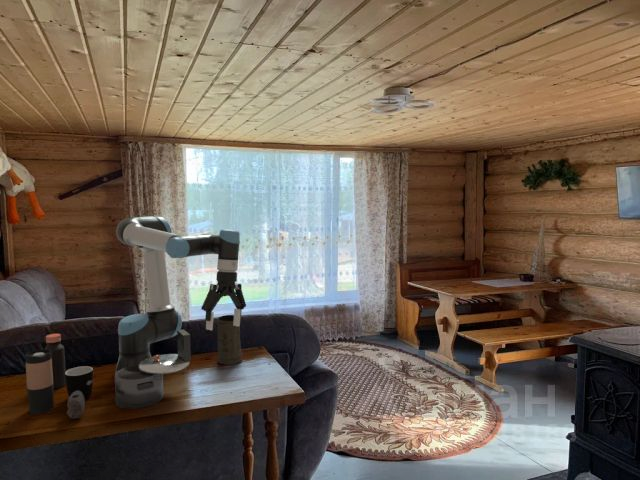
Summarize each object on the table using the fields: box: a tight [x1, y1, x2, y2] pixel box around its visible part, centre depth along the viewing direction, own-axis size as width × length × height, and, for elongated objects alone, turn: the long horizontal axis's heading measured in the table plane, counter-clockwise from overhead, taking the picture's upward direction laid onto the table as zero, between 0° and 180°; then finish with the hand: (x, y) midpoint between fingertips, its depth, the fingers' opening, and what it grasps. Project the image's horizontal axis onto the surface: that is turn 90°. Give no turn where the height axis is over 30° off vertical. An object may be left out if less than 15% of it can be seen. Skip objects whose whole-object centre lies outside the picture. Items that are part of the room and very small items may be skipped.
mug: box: [65, 365, 94, 400], centre depth 164 cm, size 12×9×10 cm
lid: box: [139, 329, 192, 375], centre depth 166 cm, size 18×18×11 cm
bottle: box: [44, 333, 66, 390], centre depth 173 cm, size 7×7×20 cm
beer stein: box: [216, 314, 243, 366], centre depth 202 cm, size 15×11×20 cm
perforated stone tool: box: [66, 390, 86, 420], centre depth 152 cm, size 15×5×7 cm, turn 24°
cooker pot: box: [114, 364, 164, 410], centre depth 162 cm, size 20×16×10 cm
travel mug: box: [25, 348, 55, 415], centre depth 153 cm, size 8×8×20 cm
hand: (223, 327), depth 168 cm, fingers open, 13 cm apart
